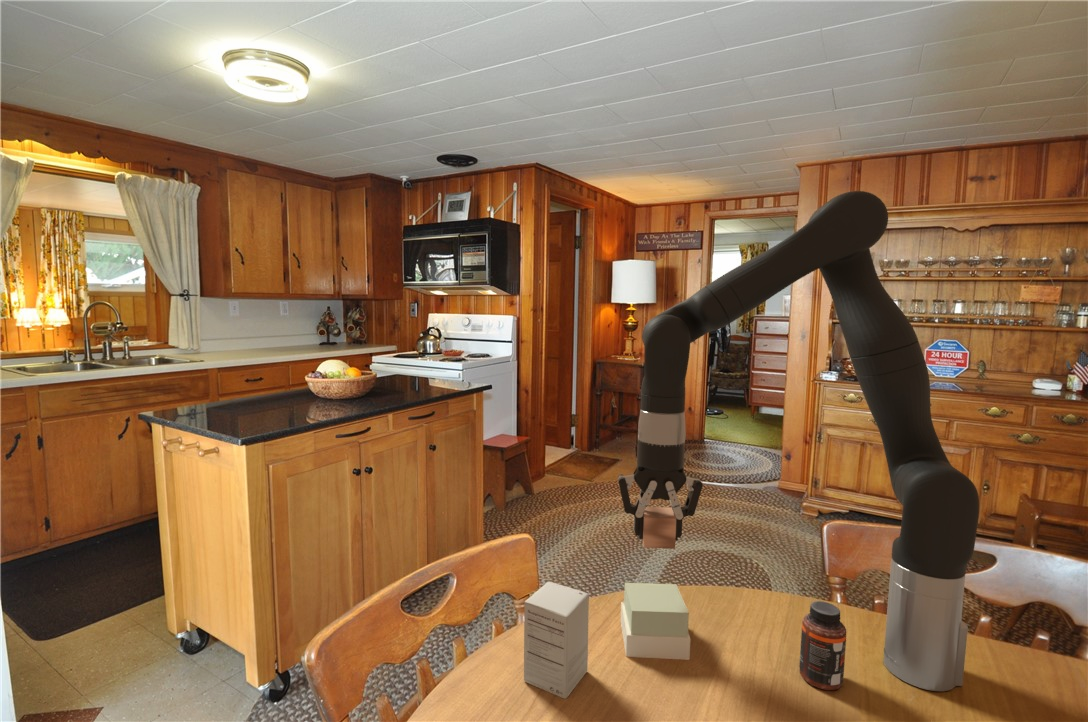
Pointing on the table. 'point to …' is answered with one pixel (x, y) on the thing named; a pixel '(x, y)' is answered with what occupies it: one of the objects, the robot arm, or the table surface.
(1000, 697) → the table surface
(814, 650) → the supplement bottle
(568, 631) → the supplement box
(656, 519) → the terracotta cube
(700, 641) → the table surface
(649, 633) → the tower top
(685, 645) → the tower base
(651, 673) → the table surface
